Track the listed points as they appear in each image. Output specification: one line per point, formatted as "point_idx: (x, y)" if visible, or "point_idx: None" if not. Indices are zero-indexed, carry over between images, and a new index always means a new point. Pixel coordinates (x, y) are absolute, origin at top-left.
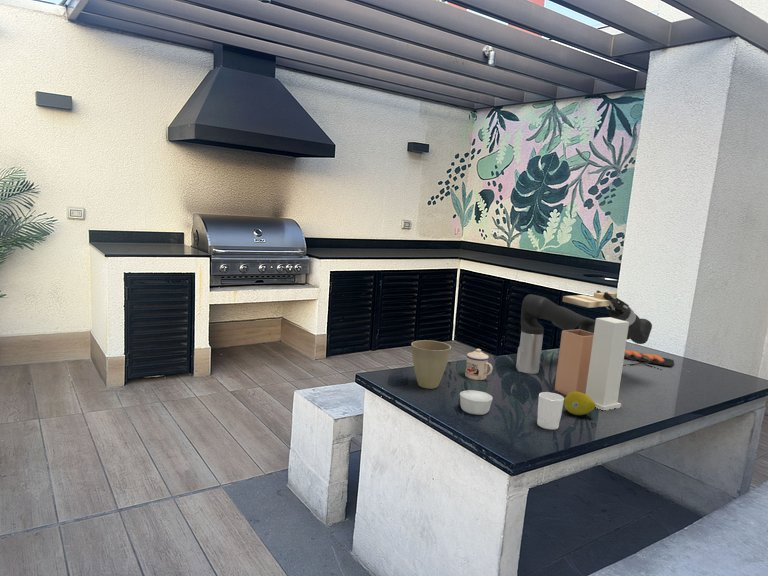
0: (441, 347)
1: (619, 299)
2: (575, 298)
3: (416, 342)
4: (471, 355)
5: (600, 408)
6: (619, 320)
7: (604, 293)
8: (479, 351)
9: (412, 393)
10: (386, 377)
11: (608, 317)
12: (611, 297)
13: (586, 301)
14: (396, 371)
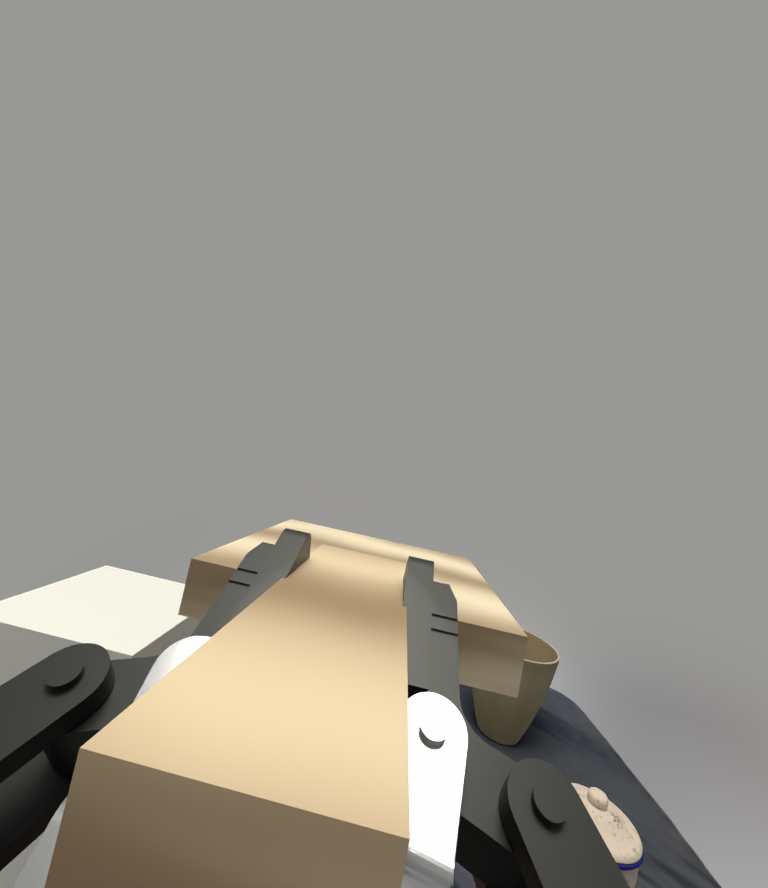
0: (536, 673)
1: (10, 682)
2: (395, 546)
3: (547, 646)
4: (577, 785)
5: None
6: (56, 613)
7: (306, 546)
8: (587, 794)
9: (459, 687)
10: (552, 711)
11: (147, 642)
12: (204, 623)
13: (311, 525)
14: (599, 747)
